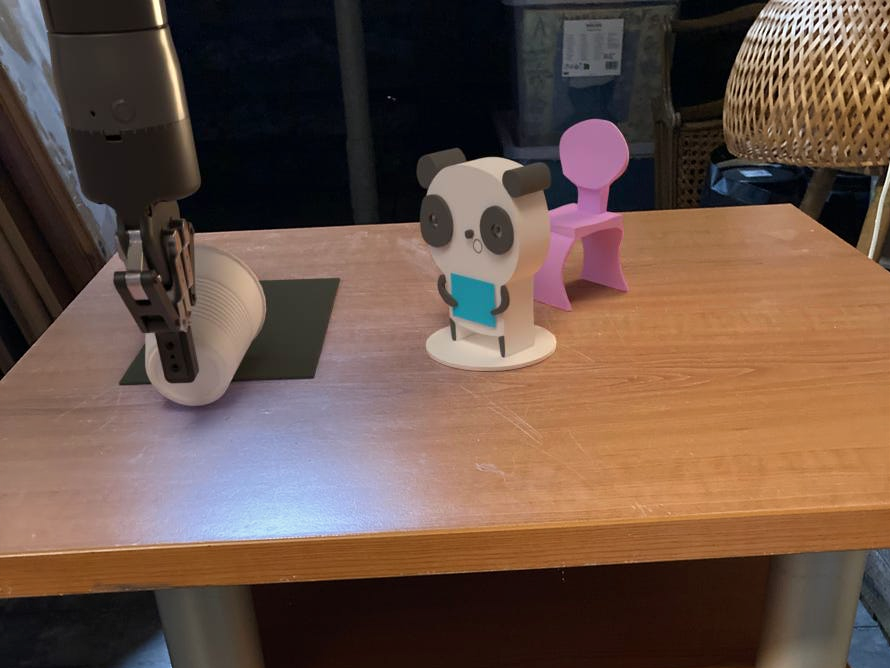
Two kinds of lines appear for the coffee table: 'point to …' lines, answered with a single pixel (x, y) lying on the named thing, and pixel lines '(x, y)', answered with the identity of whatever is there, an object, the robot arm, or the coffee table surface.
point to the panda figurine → (486, 258)
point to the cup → (214, 326)
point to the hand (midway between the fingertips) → (183, 379)
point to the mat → (278, 333)
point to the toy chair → (586, 212)
